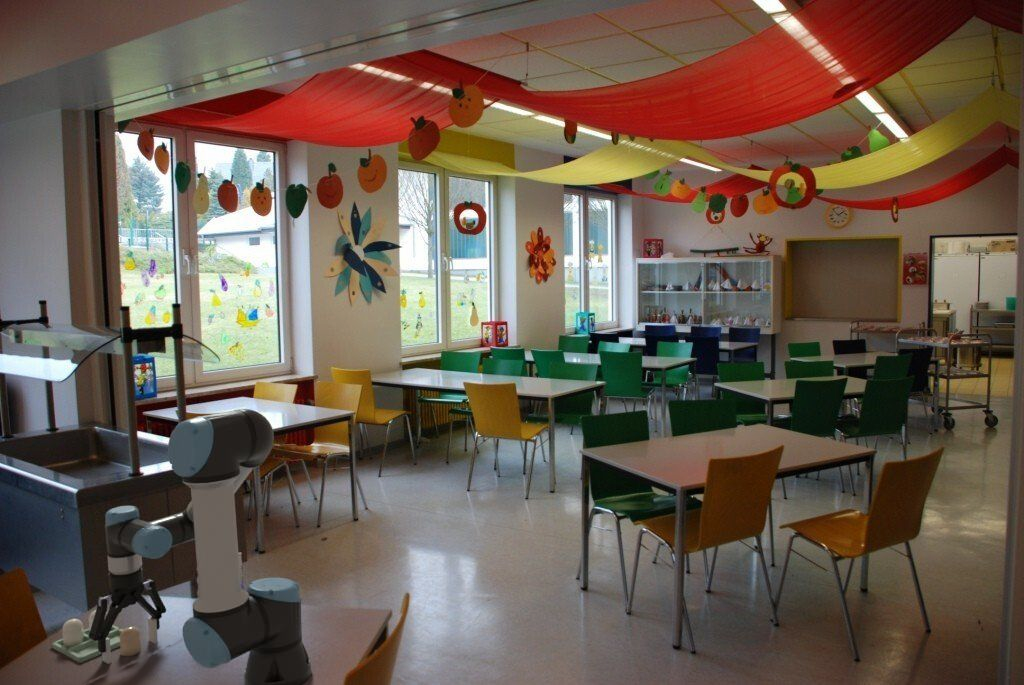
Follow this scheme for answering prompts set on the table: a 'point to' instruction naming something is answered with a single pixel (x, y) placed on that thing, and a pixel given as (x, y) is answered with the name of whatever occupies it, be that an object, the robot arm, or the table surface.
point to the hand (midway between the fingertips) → (130, 652)
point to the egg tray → (88, 646)
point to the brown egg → (130, 641)
